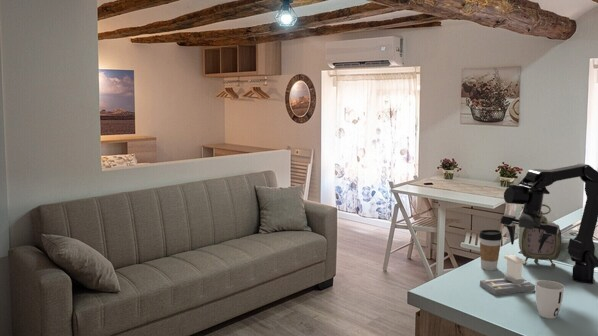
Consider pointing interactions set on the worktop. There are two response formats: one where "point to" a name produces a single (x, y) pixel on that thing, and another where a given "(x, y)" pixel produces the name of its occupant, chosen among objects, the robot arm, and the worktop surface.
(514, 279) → the plate
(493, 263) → the coffee cup
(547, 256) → the tabletop clock
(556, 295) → the cup
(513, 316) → the worktop surface
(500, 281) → the fader console
